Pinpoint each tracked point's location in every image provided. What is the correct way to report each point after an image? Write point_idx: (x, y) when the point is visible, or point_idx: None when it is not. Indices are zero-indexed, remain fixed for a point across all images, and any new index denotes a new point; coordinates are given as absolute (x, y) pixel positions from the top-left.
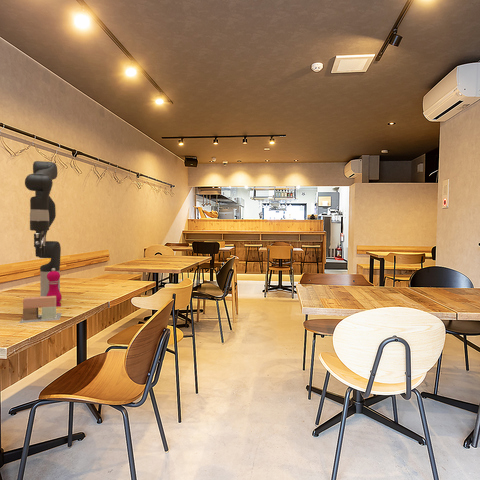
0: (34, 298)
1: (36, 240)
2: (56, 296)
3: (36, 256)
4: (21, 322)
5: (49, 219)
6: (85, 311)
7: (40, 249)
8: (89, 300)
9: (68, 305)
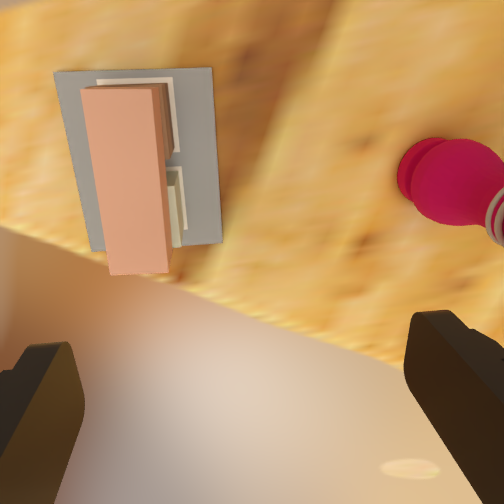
0: (101, 161)
1: None
2: (426, 207)
3: (34, 353)
4: (67, 84)
5: None
6: (269, 318)
7: None
8: (488, 308)
9: (426, 234)
